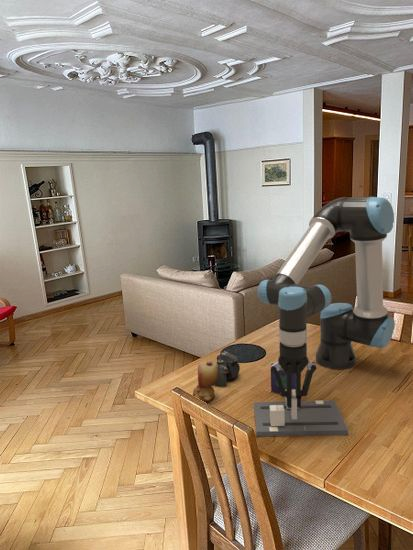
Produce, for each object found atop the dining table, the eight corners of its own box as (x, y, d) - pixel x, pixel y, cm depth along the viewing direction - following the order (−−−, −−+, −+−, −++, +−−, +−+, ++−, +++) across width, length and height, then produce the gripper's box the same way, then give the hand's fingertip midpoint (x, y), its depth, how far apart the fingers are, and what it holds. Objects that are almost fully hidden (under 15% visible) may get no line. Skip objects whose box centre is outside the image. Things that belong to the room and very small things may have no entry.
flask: (298, 390, 142) (297, 362, 140) (297, 395, 140) (297, 366, 137) (271, 388, 145) (270, 360, 142) (270, 392, 142) (269, 364, 140)
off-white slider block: (297, 403, 131) (297, 389, 130) (299, 408, 128) (299, 393, 127) (285, 403, 131) (285, 389, 130) (286, 408, 128) (286, 394, 127)
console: (334, 404, 133) (334, 400, 132) (348, 434, 117) (348, 429, 117) (253, 406, 134) (253, 401, 134) (256, 436, 119) (256, 431, 118)
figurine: (190, 391, 146) (198, 353, 143) (211, 394, 147) (219, 356, 144) (192, 406, 136) (200, 365, 133) (214, 409, 137) (222, 368, 134)
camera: (236, 388, 147) (234, 362, 144) (209, 386, 149) (207, 361, 147) (242, 371, 159) (241, 347, 157) (217, 369, 162) (215, 346, 159)
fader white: (283, 420, 123) (283, 404, 121) (284, 425, 120) (284, 410, 119) (269, 420, 123) (269, 404, 122) (270, 426, 120) (270, 410, 119)
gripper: (314, 336, 118) (314, 409, 124) (268, 337, 119) (270, 410, 125) (319, 346, 111) (318, 423, 117) (270, 348, 112) (272, 424, 118)
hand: (293, 416), depth 121 cm, fingers closed
